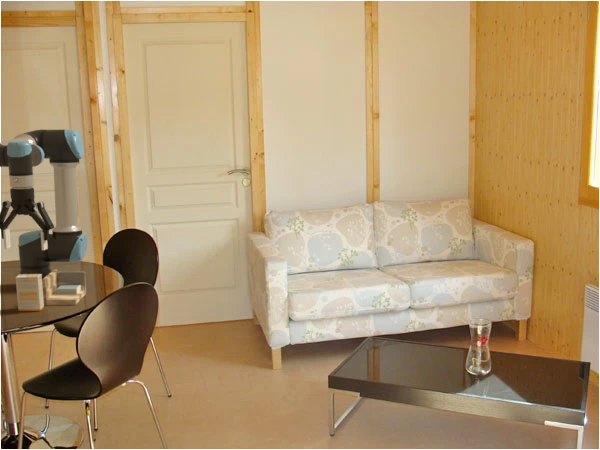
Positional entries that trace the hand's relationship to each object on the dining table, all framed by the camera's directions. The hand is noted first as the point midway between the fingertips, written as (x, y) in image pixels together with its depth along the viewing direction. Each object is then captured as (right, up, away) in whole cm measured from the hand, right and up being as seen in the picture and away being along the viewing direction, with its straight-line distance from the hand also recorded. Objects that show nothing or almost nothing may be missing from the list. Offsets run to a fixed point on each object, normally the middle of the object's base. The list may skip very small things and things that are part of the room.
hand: (26, 248), depth 240 cm
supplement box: (-6, -23, +19) cm, 31 cm away
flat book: (+3, -18, +36) cm, 40 cm away
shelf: (+3, -21, +32) cm, 39 cm away
